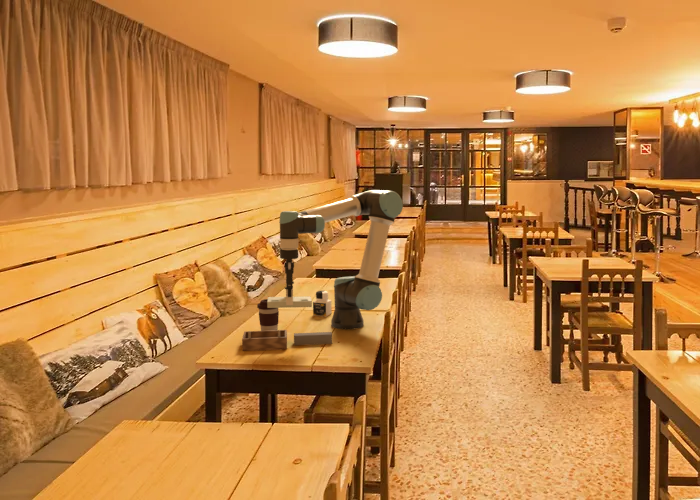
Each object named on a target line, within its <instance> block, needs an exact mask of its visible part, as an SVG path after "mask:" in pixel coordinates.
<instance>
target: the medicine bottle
mask: <svg viewBox="0 0 700 500" xmlns="http://www.w3.org/2000/svg"><path fill="white" fill-rule="evenodd" d="M332 311H333V310H332V299H329V292H328V291H326V290H318V291H316V292H315V300H314V301H313V302H312V315H313V316H314V317H315V316H316V317H325V318H326V317H328V316H330V315H332V313H333V312H332Z"/></svg>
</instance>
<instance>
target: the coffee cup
mask: <svg viewBox="0 0 700 500" xmlns="http://www.w3.org/2000/svg"><path fill="white" fill-rule="evenodd" d="M267 301H268V298H267V299H266V298H265V299H262V300H260V302H259V303H257V304H256V305H257V307H256V308H257V309H258V319H259V320H258V321H259V325H260V331H270V330H279V329H278V326H279V318H280V317H279V315H280V311H279V308H267Z"/></svg>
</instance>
